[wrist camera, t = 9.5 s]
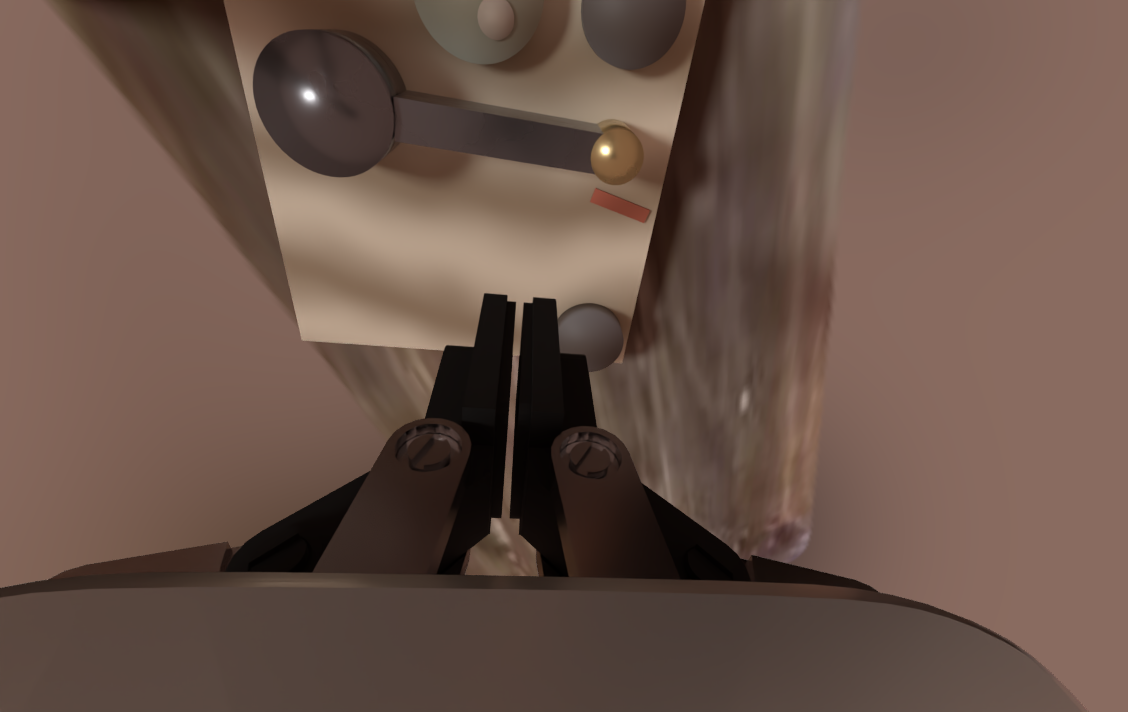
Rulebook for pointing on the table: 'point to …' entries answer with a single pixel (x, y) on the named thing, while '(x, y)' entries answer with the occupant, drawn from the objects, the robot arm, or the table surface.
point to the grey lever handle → (409, 115)
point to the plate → (480, 171)
